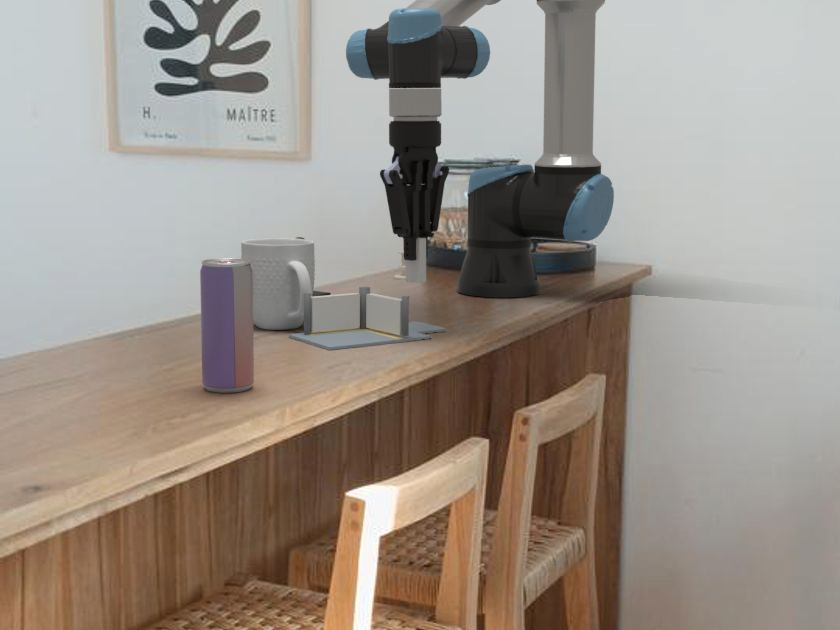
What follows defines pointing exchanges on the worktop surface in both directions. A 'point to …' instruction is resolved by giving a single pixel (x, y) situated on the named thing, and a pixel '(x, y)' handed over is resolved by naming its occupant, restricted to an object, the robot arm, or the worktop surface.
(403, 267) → the candle
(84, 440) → the worktop surface
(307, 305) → the fence fixed panel
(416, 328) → the card
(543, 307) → the worktop surface
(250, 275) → the beverage can
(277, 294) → the mug
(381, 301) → the panel
